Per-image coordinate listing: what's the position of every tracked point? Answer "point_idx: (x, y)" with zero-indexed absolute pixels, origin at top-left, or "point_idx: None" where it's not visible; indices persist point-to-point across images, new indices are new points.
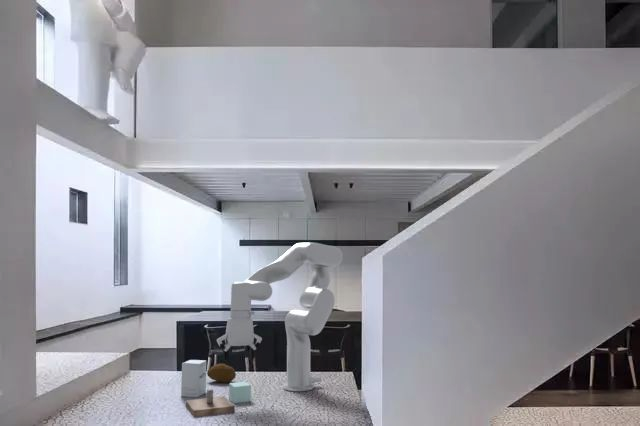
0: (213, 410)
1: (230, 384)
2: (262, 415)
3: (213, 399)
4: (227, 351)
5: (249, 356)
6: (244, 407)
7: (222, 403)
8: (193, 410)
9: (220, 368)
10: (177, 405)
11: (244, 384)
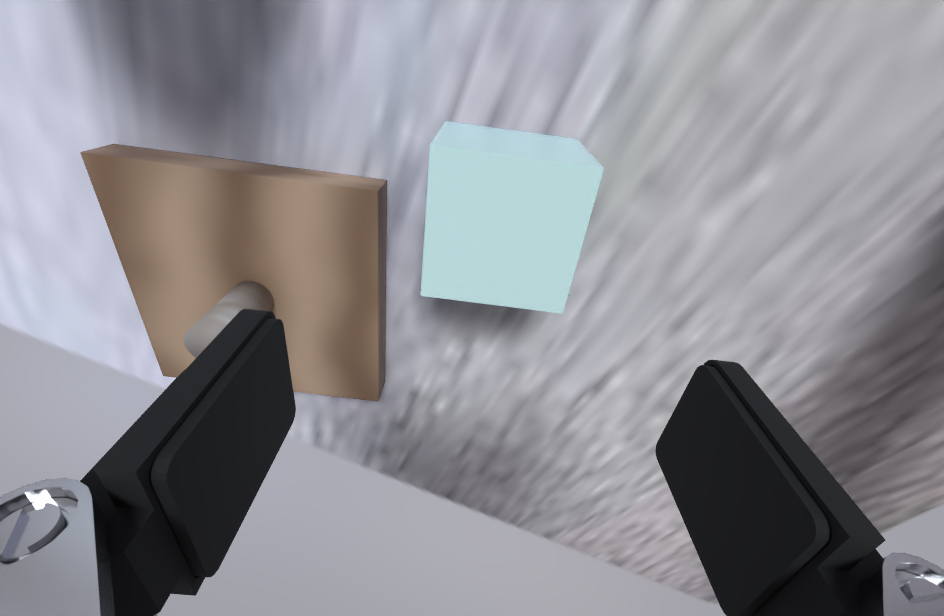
0: None
1: (427, 188)
2: (476, 463)
3: (287, 233)
4: (174, 588)
5: (723, 404)
6: (458, 344)
7: (327, 338)
8: (161, 365)
9: None
10: (46, 88)
11: (532, 267)
